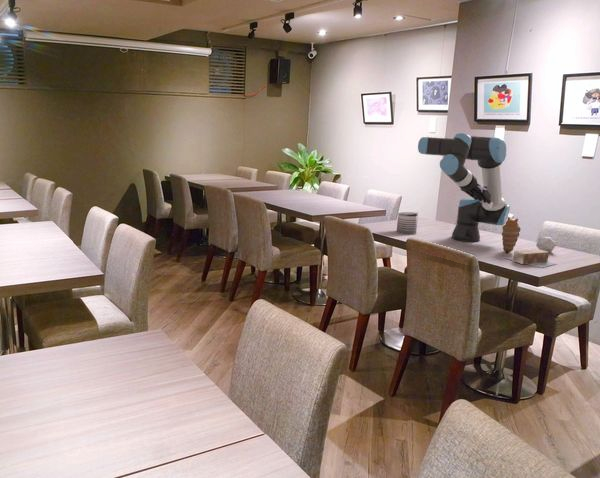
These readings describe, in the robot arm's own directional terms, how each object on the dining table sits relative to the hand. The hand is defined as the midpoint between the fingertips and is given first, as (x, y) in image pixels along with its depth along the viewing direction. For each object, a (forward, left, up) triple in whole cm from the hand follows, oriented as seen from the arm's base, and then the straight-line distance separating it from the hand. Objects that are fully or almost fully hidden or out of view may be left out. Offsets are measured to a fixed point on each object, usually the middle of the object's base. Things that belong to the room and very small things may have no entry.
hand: (491, 205), depth 235 cm
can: (-61, +16, -26) cm, 68 cm away
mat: (+12, +20, -26) cm, 35 cm away
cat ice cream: (-4, +27, -26) cm, 38 cm away
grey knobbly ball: (+5, +48, -26) cm, 55 cm away
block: (+11, +11, -23) cm, 28 cm away
